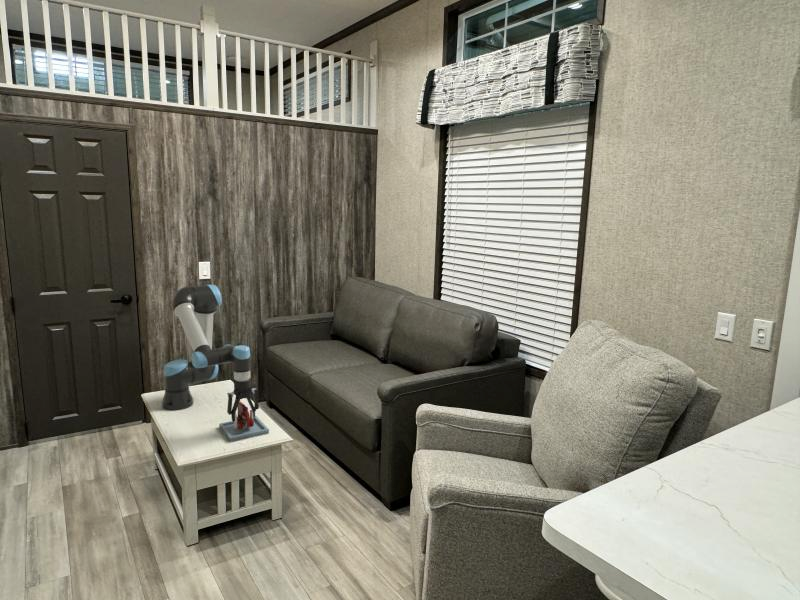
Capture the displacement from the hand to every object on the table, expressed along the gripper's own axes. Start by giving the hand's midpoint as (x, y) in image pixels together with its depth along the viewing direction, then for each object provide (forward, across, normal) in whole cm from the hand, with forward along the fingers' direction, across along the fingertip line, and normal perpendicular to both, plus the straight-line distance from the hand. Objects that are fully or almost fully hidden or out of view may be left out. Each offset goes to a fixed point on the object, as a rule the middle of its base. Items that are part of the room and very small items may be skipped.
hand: (243, 425), depth 252 cm
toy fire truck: (+1, 0, 0) cm, 1 cm away
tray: (+3, 0, 0) cm, 3 cm away
